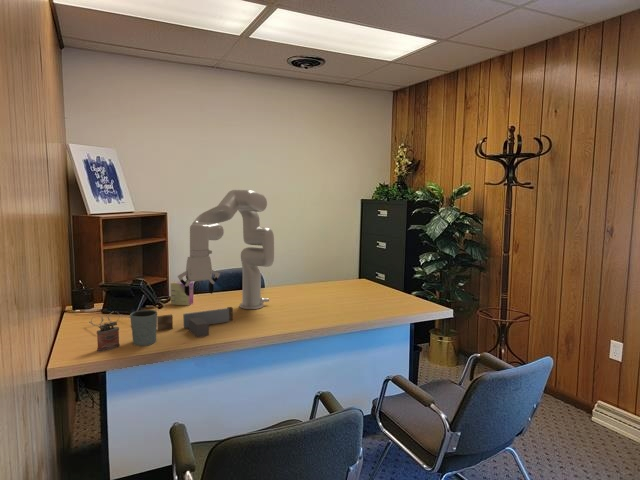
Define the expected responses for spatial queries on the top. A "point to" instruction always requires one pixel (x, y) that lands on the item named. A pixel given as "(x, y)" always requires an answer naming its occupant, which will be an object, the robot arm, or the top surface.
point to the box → (181, 294)
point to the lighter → (108, 337)
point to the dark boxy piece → (198, 327)
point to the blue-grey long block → (208, 316)
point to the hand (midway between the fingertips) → (199, 294)
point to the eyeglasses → (103, 319)
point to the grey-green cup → (144, 327)
